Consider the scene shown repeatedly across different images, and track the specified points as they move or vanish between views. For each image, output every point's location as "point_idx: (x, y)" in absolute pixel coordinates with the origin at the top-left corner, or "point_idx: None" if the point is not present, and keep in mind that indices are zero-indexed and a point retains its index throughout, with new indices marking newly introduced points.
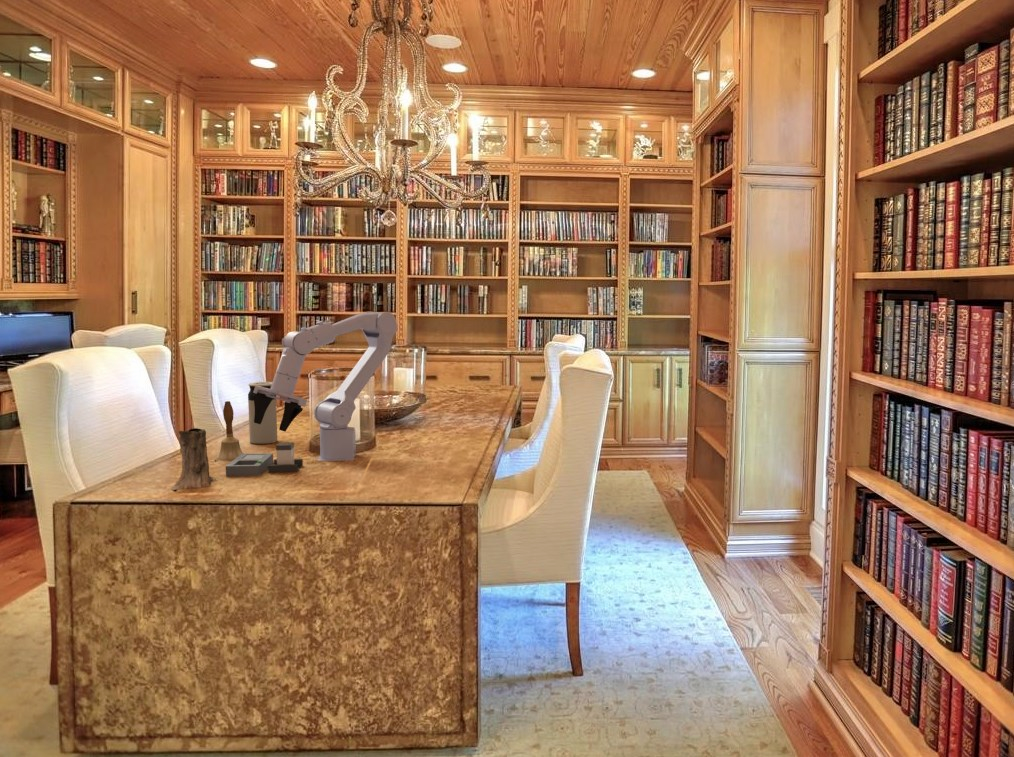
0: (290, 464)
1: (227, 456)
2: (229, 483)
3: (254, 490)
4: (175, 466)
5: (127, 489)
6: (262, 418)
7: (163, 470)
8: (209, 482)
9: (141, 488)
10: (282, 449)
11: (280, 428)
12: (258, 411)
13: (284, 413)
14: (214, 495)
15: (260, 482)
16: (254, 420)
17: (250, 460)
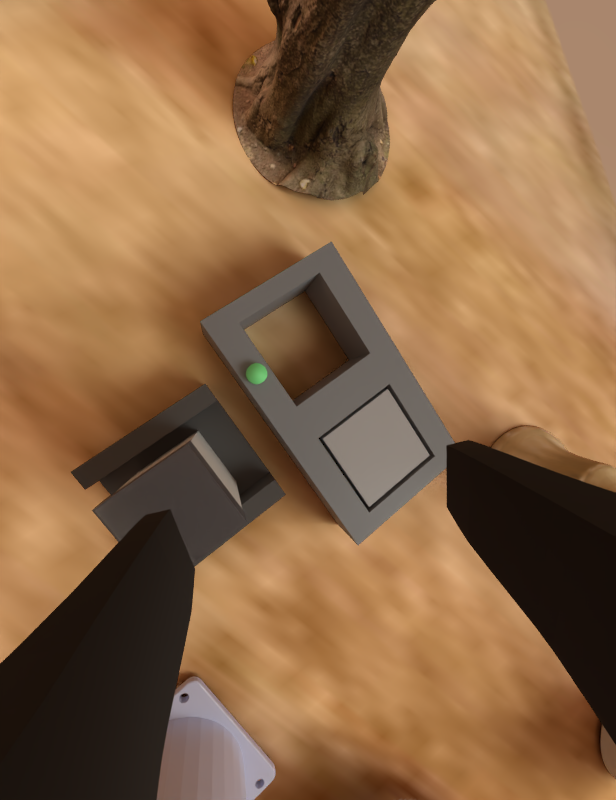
0: (119, 464)
1: (522, 451)
2: (239, 210)
3: (34, 158)
4: (580, 311)
5: (465, 20)
6: (485, 557)
7: (567, 254)
8: (261, 119)
9: (441, 43)
10: (154, 465)
11: (148, 519)
12: (550, 513)
13: (9, 714)
14: (130, 34)
15: (133, 277)
16: (480, 446)
17: (330, 383)
